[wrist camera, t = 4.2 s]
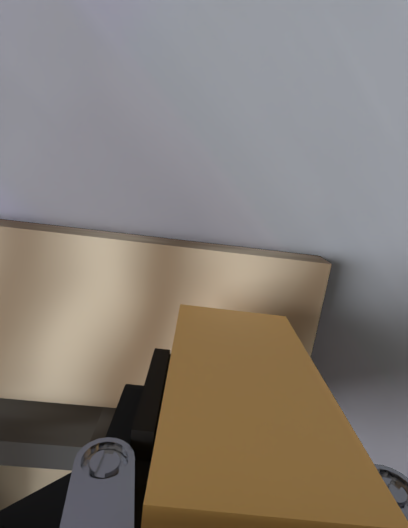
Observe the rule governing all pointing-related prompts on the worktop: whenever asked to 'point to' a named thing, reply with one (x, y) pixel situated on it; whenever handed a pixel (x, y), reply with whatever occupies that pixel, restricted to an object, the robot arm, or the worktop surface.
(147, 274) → the board
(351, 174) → the worktop surface
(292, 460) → the plug
